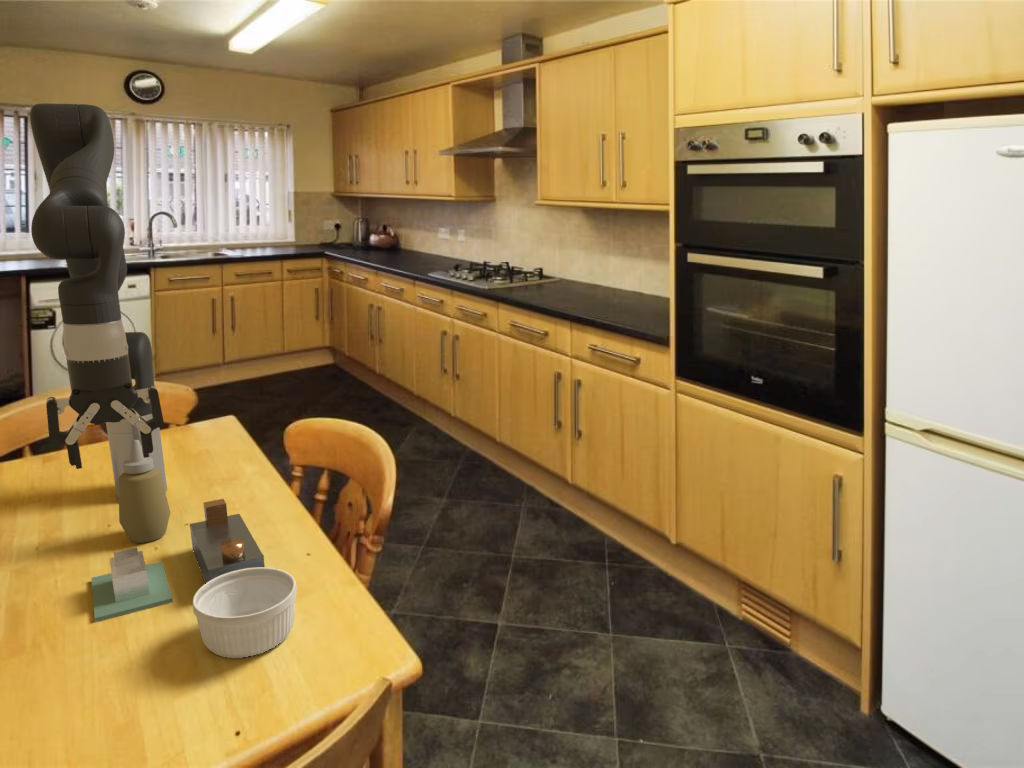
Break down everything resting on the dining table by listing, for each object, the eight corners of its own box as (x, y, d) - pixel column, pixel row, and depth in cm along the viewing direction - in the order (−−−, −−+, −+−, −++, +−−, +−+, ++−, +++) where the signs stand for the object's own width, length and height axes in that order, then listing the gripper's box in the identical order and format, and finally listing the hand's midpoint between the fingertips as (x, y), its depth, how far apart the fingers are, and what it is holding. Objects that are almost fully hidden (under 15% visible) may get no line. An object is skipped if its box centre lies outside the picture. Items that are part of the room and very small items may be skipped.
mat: (91, 581, 109) (91, 577, 109) (162, 564, 115) (161, 561, 114) (95, 621, 99) (94, 618, 99) (172, 601, 104) (172, 598, 104)
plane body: (192, 550, 119) (187, 504, 117) (241, 539, 123) (237, 494, 121) (211, 600, 104) (205, 547, 102) (266, 585, 109) (261, 535, 106)
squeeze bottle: (159, 522, 130) (148, 430, 125) (181, 535, 125) (169, 439, 120) (114, 537, 124) (100, 441, 119) (134, 551, 119) (120, 452, 114)
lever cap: (112, 581, 108) (108, 552, 107) (145, 573, 111) (141, 544, 109) (115, 602, 102) (111, 571, 101) (149, 593, 105) (145, 563, 104)
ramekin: (266, 598, 105) (262, 556, 103) (319, 631, 97) (316, 586, 95) (179, 639, 95) (173, 593, 93) (230, 679, 87) (225, 630, 85)
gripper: (151, 343, 104) (163, 445, 108) (37, 353, 97) (55, 462, 101) (156, 352, 98) (170, 460, 102) (35, 363, 91) (55, 479, 95)
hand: (113, 461), depth 101 cm, fingers open, 8 cm apart
